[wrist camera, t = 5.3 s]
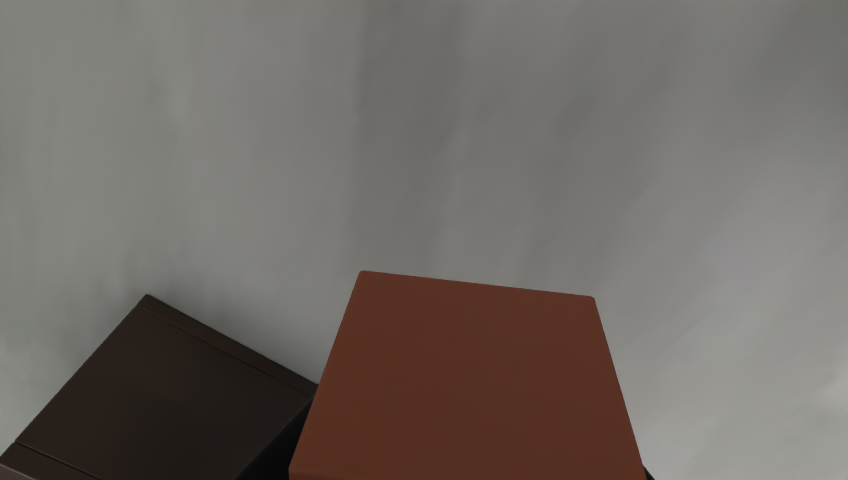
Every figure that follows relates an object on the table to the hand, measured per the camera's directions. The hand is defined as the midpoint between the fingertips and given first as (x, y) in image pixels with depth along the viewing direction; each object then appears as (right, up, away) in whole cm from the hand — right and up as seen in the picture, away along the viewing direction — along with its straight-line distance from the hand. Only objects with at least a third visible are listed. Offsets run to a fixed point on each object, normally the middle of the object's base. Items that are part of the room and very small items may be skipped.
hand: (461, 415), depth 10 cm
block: (0, +1, +1) cm, 1 cm away
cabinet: (-11, -6, +18) cm, 22 cm away
